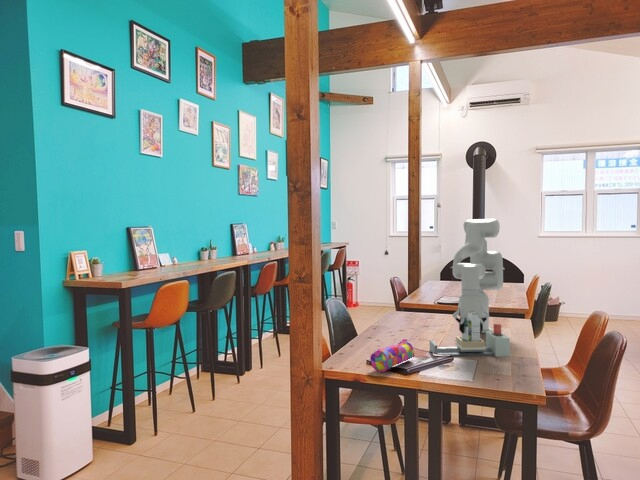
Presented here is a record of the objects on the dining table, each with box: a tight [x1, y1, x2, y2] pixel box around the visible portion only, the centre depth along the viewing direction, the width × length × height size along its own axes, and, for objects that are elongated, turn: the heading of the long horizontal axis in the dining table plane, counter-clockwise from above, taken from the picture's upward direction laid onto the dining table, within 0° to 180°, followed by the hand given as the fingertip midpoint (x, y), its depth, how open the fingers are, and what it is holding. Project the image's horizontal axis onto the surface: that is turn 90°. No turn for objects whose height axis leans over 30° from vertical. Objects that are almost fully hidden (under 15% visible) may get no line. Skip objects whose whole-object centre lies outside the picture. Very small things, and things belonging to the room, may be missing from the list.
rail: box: [429, 339, 496, 358], centre depth 202 cm, size 10×26×5 cm, turn 89°
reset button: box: [493, 323, 502, 336], centre depth 202 cm, size 3×3×7 cm
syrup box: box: [461, 312, 481, 341], centre depth 202 cm, size 6×6×14 cm
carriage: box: [455, 335, 486, 352], centre depth 202 cm, size 10×10×5 cm
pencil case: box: [369, 338, 415, 373], centre depth 187 cm, size 22×9×9 cm, turn 140°
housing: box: [485, 330, 511, 357], centre depth 202 cm, size 12×6×8 cm, turn 179°
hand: (470, 332), depth 202 cm, fingers closed on syrup box, 7 cm apart
